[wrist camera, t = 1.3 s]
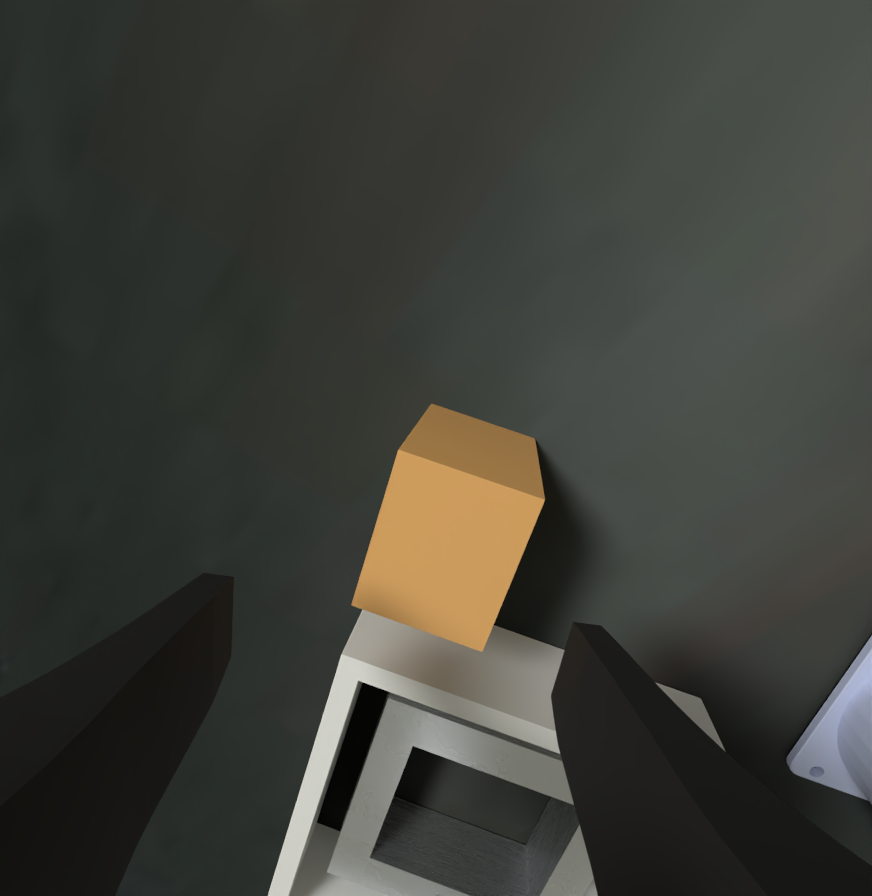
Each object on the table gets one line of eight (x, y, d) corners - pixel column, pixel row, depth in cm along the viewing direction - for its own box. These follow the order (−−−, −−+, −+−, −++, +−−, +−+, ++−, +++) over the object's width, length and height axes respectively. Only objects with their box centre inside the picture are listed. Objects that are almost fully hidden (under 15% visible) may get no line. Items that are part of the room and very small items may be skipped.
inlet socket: (627, 726, 22) (645, 791, 19) (542, 880, 25) (546, 955, 22) (403, 646, 22) (388, 698, 20) (347, 807, 25) (326, 872, 23)
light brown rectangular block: (534, 438, 19) (545, 499, 13) (490, 553, 21) (482, 651, 15) (431, 403, 19) (398, 449, 14) (395, 520, 21) (351, 605, 15)
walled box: (700, 698, 21) (748, 801, 17) (563, 927, 26) (573, 1053, 22) (375, 583, 22) (341, 654, 17) (298, 827, 26) (256, 931, 22)
